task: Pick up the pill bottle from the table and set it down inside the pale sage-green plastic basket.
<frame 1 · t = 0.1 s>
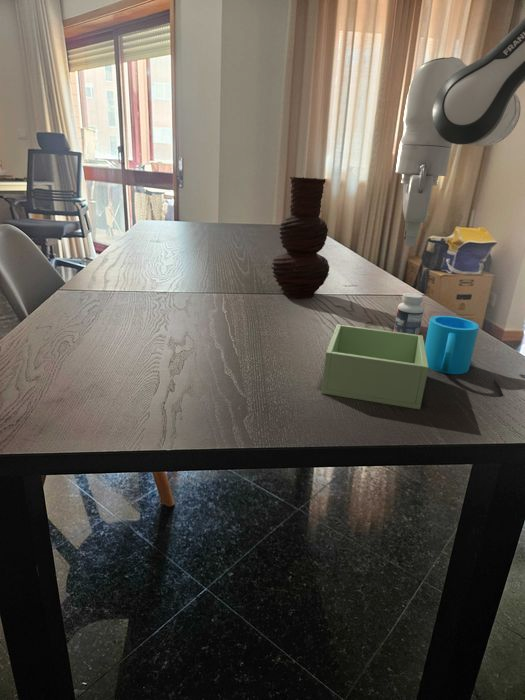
hand: (408, 242, 89), 20 cm above the table, tool pointing down, fingers open, 8 cm apart
mug: (444, 369, 84), on the table
vase: (297, 295, 127), on the table
basket: (371, 381, 77), on the table
pill bottle: (405, 336, 101), on the table
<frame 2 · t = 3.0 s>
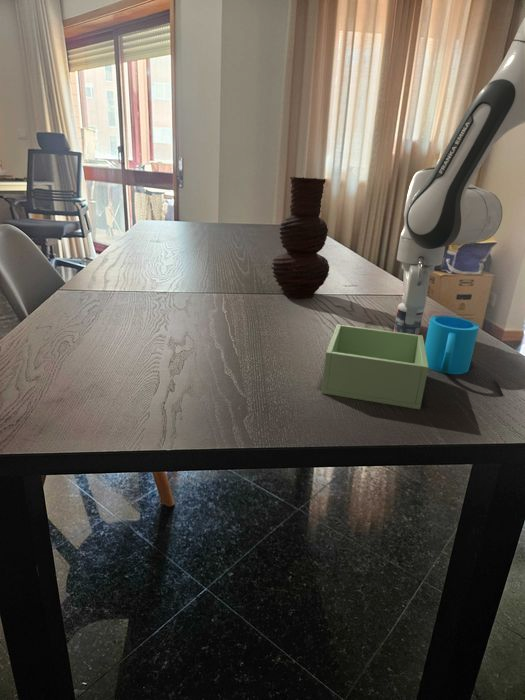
hand: (408, 319, 99), 4 cm above the table, tool pointing down, fingers closed on pill bottle, 5 cm apart
pill bottle: (405, 336, 101), on the table, touching gripper
everything else where it was.
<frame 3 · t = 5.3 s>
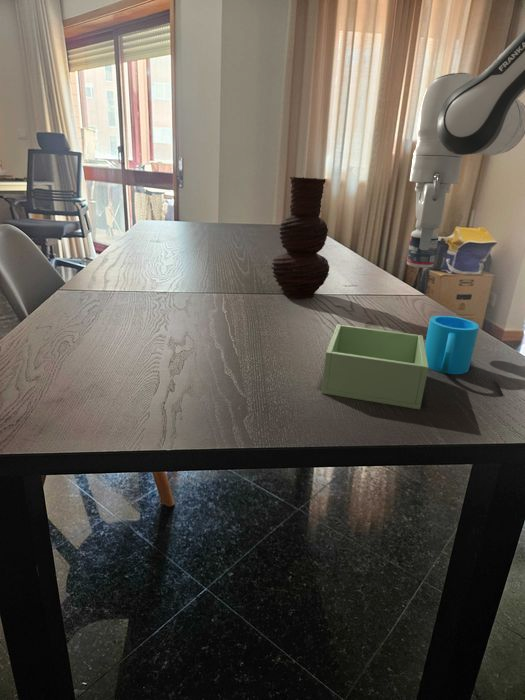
hand: (422, 247, 93), 19 cm above the table, tool pointing down, fingers closed on pill bottle, 5 cm apart
pill bottle: (419, 266, 95), point 15 cm above the table, touching gripper
everything else where it was.
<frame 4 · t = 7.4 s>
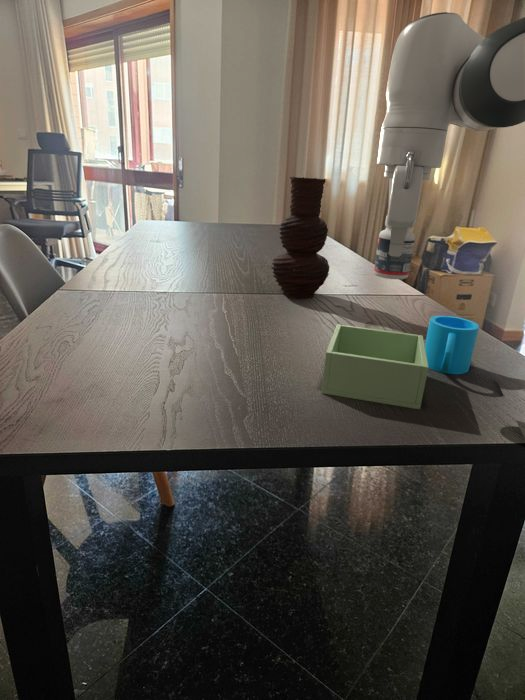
hand: (394, 252, 71), 21 cm above the table, tool pointing down, fingers closed on pill bottle, 5 cm apart
pill bottle: (390, 277, 72), point 17 cm above the table, touching gripper
everything else where it was.
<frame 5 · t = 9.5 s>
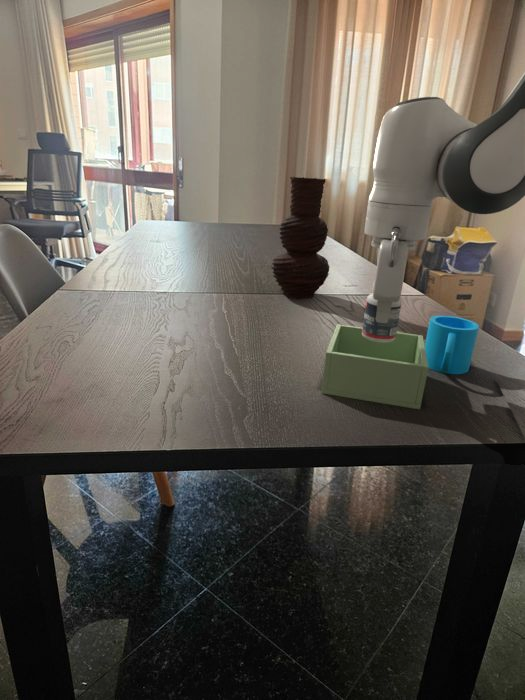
hand: (382, 315, 73), 11 cm above the table, tool pointing down, fingers closed on pill bottle, 5 cm apart
pill bottle: (377, 338, 74), point 8 cm above the table, touching gripper
everything else where it was.
when the fingers open (4 cm above the table, at t = 11.7 s): pill bottle stays where it is, resting on basket.
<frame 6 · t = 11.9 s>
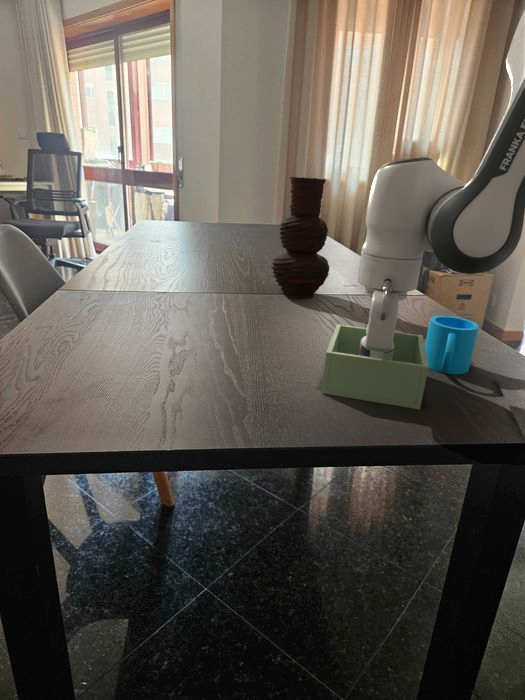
hand: (375, 358, 75), 4 cm above the table, tool pointing down, fingers open, 6 cm apart
pill bottle: (371, 378, 77), point 1 cm above the table, touching basket
everything else where it was.
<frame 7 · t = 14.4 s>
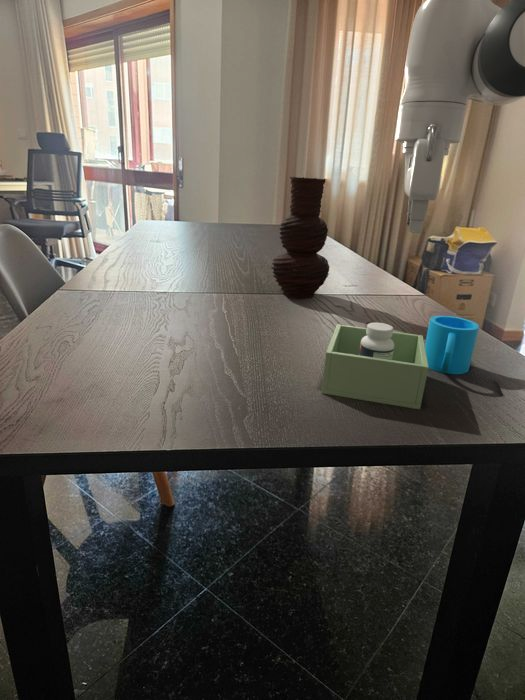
hand: (413, 228, 71), 24 cm above the table, tool pointing down, fingers open, 8 cm apart
nothing on the table moved.
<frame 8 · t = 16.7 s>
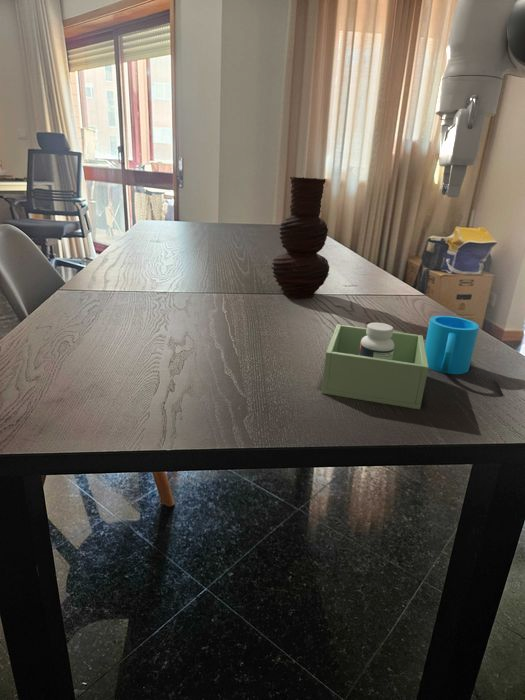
hand: (449, 195, 78), 29 cm above the table, tool pointing down, fingers open, 8 cm apart
nothing on the table moved.
at the end: pill bottle inside the target area in the basket (0.1 cm from its centre), point 0.6 cm above the basket's base; the gripper is holding nothing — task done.
